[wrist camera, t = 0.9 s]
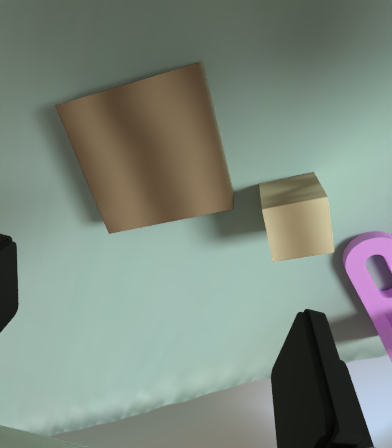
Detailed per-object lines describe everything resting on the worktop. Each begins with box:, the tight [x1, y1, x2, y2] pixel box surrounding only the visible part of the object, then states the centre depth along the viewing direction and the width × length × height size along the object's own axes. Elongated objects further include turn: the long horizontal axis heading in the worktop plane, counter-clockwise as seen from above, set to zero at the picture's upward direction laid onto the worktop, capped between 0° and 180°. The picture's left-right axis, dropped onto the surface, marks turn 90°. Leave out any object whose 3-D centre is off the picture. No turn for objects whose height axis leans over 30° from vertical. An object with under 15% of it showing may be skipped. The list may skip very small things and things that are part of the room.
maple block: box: [259, 172, 334, 262], centre depth 31 cm, size 5×5×6 cm
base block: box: [56, 62, 234, 234], centre depth 31 cm, size 12×12×4 cm
